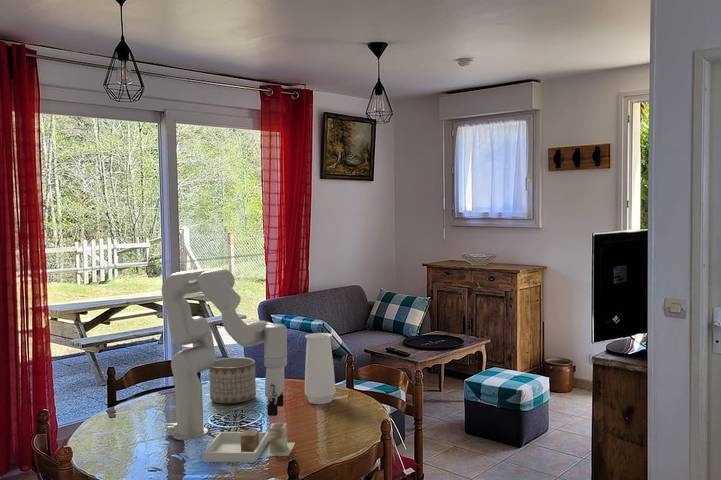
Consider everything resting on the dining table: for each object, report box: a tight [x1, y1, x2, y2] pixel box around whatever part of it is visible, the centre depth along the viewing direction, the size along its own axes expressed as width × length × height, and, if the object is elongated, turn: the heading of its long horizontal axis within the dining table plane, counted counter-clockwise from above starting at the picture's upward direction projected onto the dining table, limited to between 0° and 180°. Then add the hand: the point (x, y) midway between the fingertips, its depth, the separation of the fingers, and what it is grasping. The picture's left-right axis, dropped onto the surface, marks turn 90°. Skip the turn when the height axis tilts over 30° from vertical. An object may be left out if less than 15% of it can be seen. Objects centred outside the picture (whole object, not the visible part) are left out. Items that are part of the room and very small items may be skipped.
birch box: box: [268, 422, 288, 452], centre depth 221 cm, size 5×5×8 cm
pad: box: [261, 442, 296, 457], centre depth 221 cm, size 9×12×1 cm
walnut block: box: [240, 429, 260, 452], centre depth 220 cm, size 5×5×6 cm
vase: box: [304, 332, 336, 405], centre depth 277 cm, size 13×13×28 cm
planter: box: [208, 356, 257, 405], centre depth 281 cm, size 19×19×16 cm
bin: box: [201, 431, 270, 463], centre depth 221 cm, size 18×20×4 cm
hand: (275, 410), depth 221 cm, fingers open, 9 cm apart
